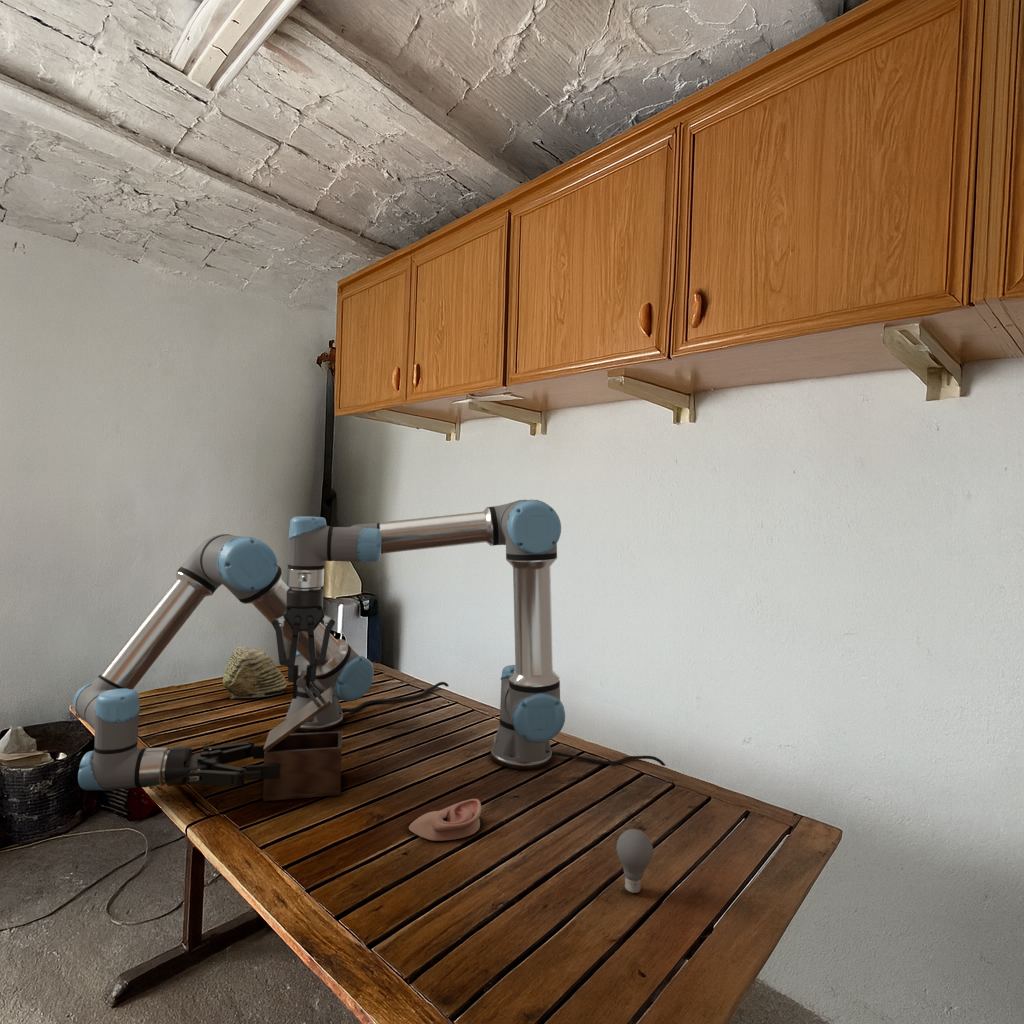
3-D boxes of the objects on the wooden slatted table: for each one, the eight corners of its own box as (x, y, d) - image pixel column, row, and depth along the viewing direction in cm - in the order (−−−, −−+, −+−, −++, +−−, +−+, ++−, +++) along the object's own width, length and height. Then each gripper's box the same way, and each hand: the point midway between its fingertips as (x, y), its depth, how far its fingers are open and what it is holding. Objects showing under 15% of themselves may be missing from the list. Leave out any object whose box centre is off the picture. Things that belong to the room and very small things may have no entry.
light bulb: (610, 879, 108) (613, 822, 108) (644, 879, 109) (647, 822, 109) (619, 902, 102) (622, 840, 102) (655, 901, 103) (658, 840, 103)
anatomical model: (403, 815, 119) (423, 788, 130) (402, 836, 119) (423, 807, 131) (471, 825, 117) (486, 797, 128) (470, 847, 117) (485, 817, 128)
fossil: (218, 695, 195) (220, 647, 195) (278, 685, 208) (279, 640, 207) (228, 703, 189) (230, 653, 188) (289, 692, 201) (290, 645, 201)
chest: (341, 774, 144) (342, 730, 144) (340, 795, 135) (341, 748, 134) (269, 780, 140) (270, 735, 140) (263, 801, 131) (264, 753, 131)
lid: (333, 689, 143) (311, 661, 142) (331, 703, 134) (309, 674, 132) (271, 734, 140) (249, 706, 139) (265, 752, 131) (241, 722, 129)
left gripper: (181, 762, 142) (286, 756, 147) (150, 811, 120) (275, 802, 125) (182, 728, 142) (287, 724, 147) (152, 771, 120) (276, 765, 125)
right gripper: (266, 590, 131) (262, 703, 131) (341, 590, 135) (336, 700, 135) (270, 585, 138) (266, 692, 139) (341, 585, 142) (337, 690, 142)
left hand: (282, 760), depth 136 cm, fingers closed on chest, 10 cm apart
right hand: (301, 696), depth 137 cm, fingers closed on lid, 2 cm apart
